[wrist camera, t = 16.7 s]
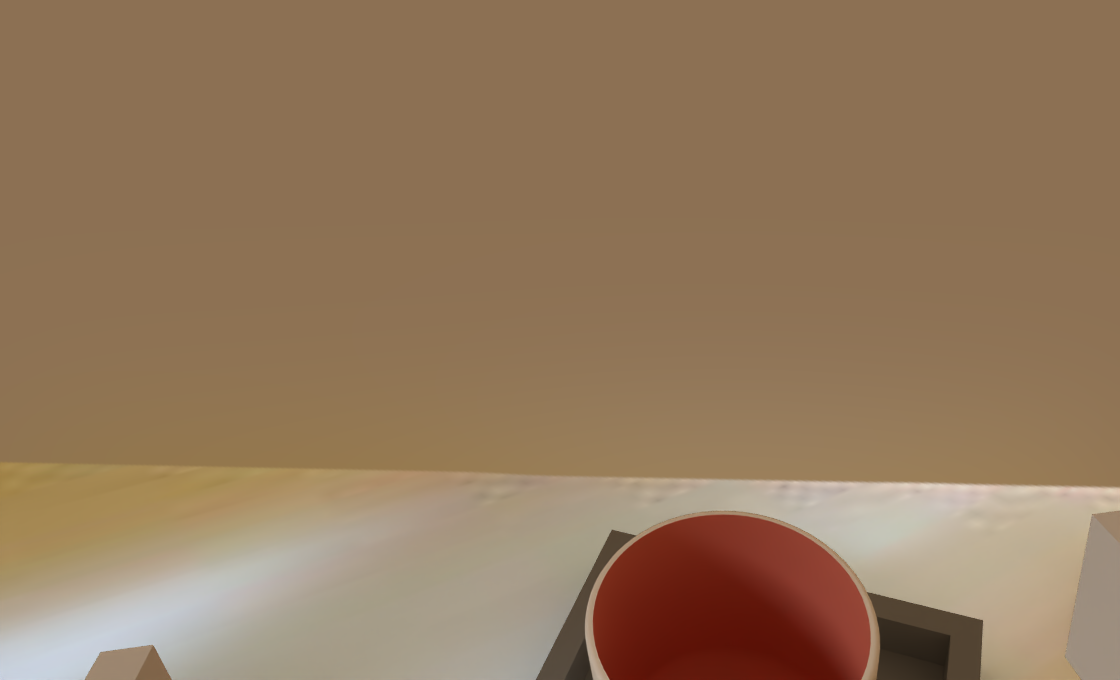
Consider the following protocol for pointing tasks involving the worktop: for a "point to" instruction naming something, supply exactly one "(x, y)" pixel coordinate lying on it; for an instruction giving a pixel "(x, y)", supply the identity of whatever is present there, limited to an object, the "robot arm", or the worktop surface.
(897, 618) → the tray
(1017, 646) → the worktop surface
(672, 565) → the cup
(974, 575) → the worktop surface
